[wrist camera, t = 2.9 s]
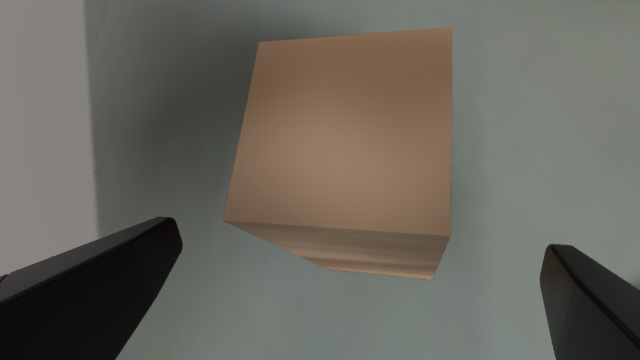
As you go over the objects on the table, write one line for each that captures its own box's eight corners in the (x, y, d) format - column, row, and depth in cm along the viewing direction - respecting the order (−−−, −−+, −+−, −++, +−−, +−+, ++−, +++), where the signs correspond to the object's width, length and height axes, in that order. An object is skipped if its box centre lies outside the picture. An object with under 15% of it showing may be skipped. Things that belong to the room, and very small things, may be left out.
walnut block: (431, 279, 17) (450, 235, 7) (328, 269, 19) (222, 220, 9) (433, 179, 19) (451, 27, 9) (338, 176, 20) (258, 41, 10)
